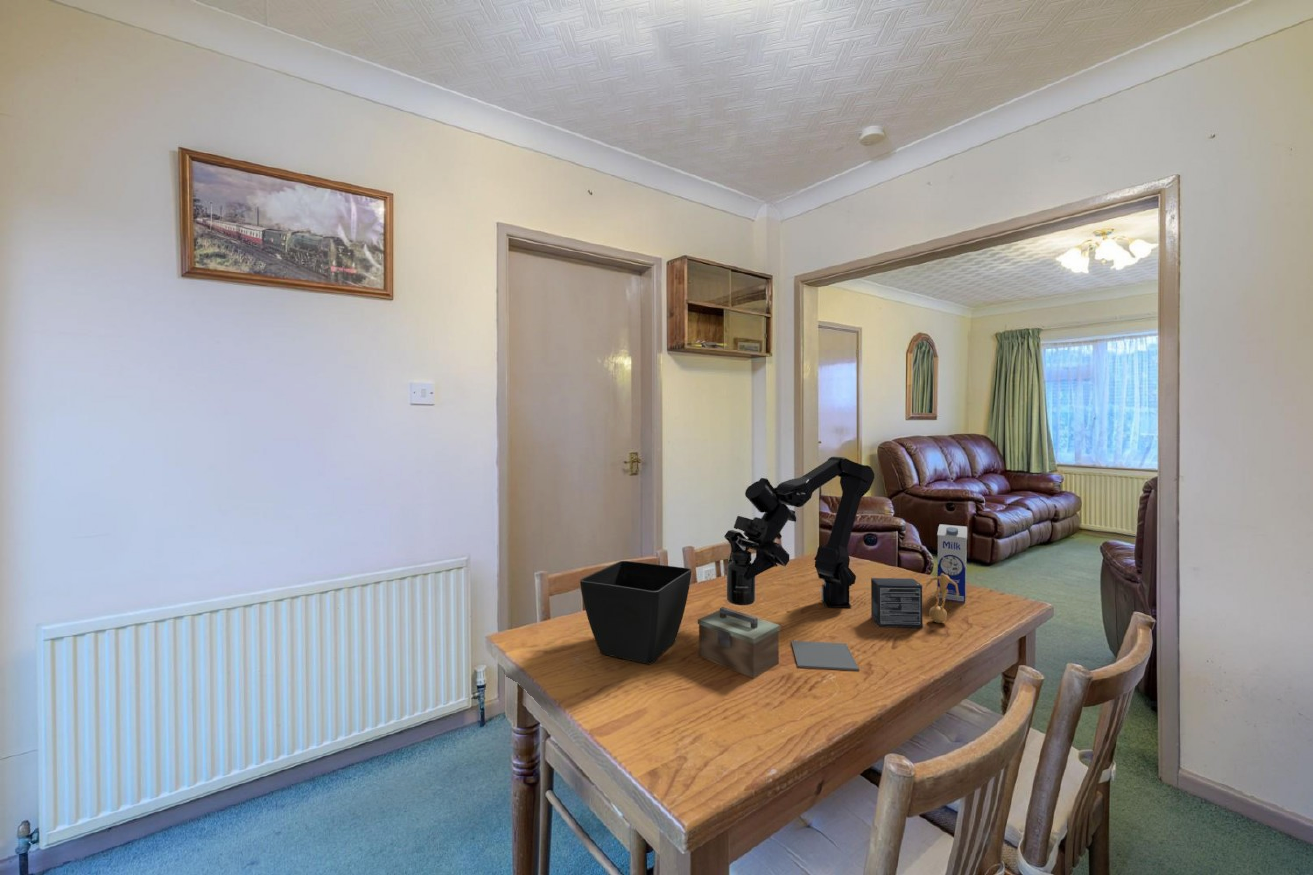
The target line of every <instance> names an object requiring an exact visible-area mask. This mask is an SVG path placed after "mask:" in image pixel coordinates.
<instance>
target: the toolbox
mask: <svg viewBox="0 0 1313 875" xmlns="http://www.w3.org/2000/svg"><path fill="white" fill-rule="evenodd" d="M697 624H698V648H699V649H698V656H699V657H701V658H703V659H706V660H708V661H710V662H712V663H715V664H717V665H720V666H723V667H725V668H727V669H730V670H732V671H735V672H737V673H739V674H742V675H745V676H747V677H750V678H752V679H755V678H757V677H758V676H760V675H762V674H764V673H765V672H767V671H768V670H770V669H772V668H774V667H775V666H776V665H778V664H779V663H780V661H779V660H780V658H779V656H780V652H779V650H780V649H779V648H780V647H779V646H780V644H779V643H780V642H779V641H780V640H779V639H780V638H779V634H780V633H779V631H781V624H777V623H774V622H771V621H768V620H764V619H761V618H758V617H756V616H753V615H749V614H746V613H744V612H740V611H737V610H733V609H730V608H728V607H724V606H722V607H719V609H718V610H716V611H714V612H712V613H709V614H706V615H704V616H702V617H699V618H698V619H697Z"/></svg>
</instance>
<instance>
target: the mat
mask: <svg viewBox="0 0 1313 875" xmlns="http://www.w3.org/2000/svg"><path fill="white" fill-rule="evenodd" d="M790 642H791V643H790V644H791V647H792V650H793V655H794V658H795V661H796V662H795V663H796V666H797V668H806V669H819V670H820V669H822V670H824V669H825V670H840V671H860V667H859V665H858V664H857V662H856V660H855V658H854V656H853V654H852V652H851V650H850V649H849V646H848V645H847V643H843V642H824V641H822V642H821V641H806V640H805V641H804V640H790Z"/></svg>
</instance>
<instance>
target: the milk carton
mask: <svg viewBox="0 0 1313 875" xmlns="http://www.w3.org/2000/svg"><path fill="white" fill-rule="evenodd" d="M936 536H937V569H936V570H937V576H936V577H938V576H940V575H941V573H943V574H945V575H948V576H949V578H950V579H951V580H952V581H953V582H955V583H956V584H957V585H958V593H959V598H957V597H956V596H957V595H956V594H957V592H956V587H955V585H953V584H952V583H950V582H949V583H948V585H947V587H946V589H948V593H947V595H946V597H945V598H944V599H945V600H946V601H949V600H951V602H956V601H957V602H958V603H963V604H965V603H966V600H967V599H966V597H967V551H968V550H967V549H968V547H967V544H968V543H967V541H968V526H964V525H952V524H951V525H950V524H939V526H938V527H937V534H936ZM936 585H937V586H936V588H937V587H939V588H940V583H939V579H938V580H937V583H936ZM941 593H942V591H941V592H940V594H939V595H938V596H937V597H939V600H942V594H941ZM957 602H956V603H957Z"/></svg>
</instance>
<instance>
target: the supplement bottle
mask: <svg viewBox="0 0 1313 875" xmlns="http://www.w3.org/2000/svg"><path fill="white" fill-rule="evenodd" d="M730 554H731V560H732V562H730V563H729V564H728V563H727V565H728V566H727V565H726V569H727V570H726V600H727V601H728V603H730V604H732V605H735V606H749V605H753V604H754V603H755V602H756V601H755V600H756V576H755V577H753V578H751V579H749V580H746V579H745V575H746V573H747V571H748V570H749V568H750V566H751V565H752V563H753V562H752V552H751V551H750V550H748V551H746V550H735V551H732V552H731V551H730Z"/></svg>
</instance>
